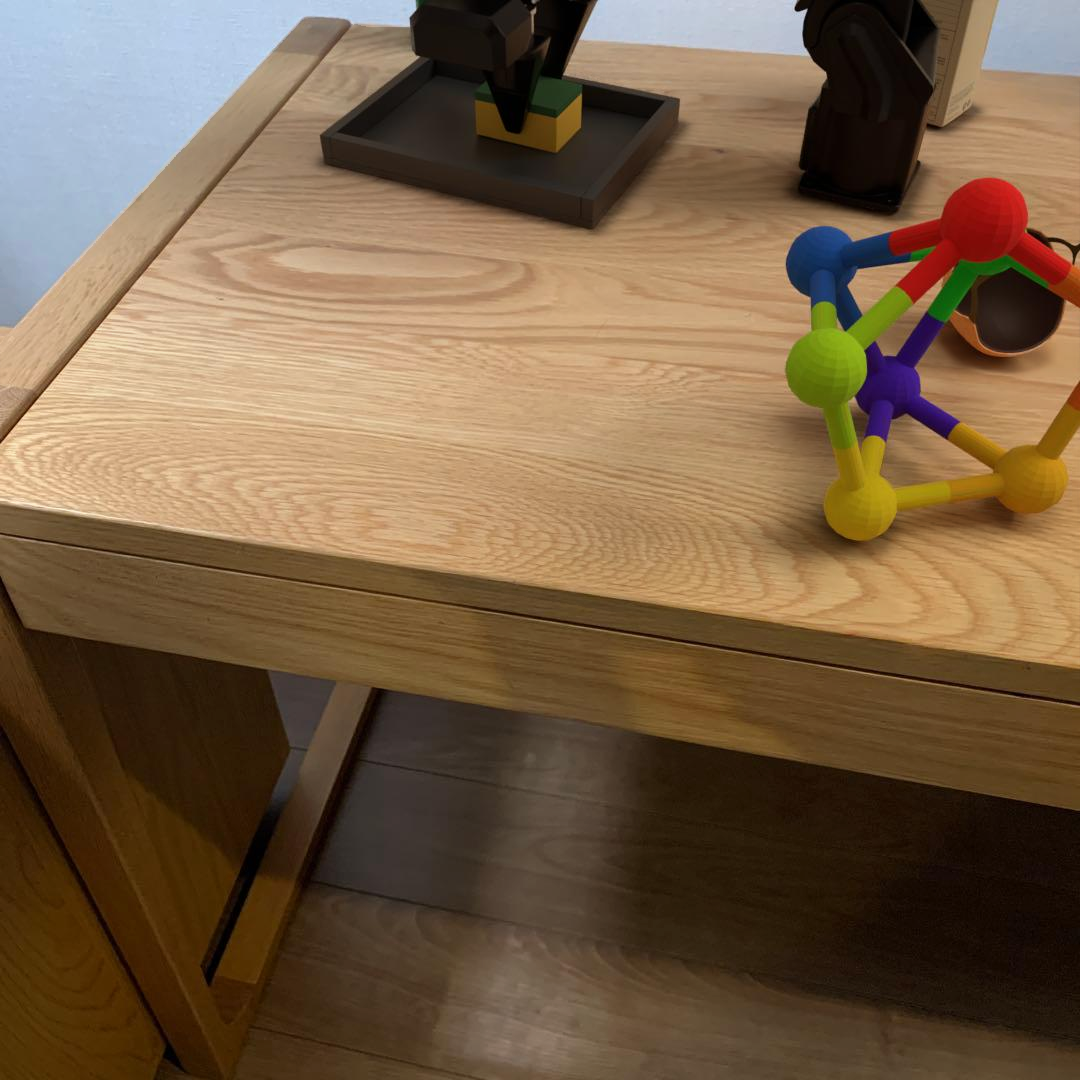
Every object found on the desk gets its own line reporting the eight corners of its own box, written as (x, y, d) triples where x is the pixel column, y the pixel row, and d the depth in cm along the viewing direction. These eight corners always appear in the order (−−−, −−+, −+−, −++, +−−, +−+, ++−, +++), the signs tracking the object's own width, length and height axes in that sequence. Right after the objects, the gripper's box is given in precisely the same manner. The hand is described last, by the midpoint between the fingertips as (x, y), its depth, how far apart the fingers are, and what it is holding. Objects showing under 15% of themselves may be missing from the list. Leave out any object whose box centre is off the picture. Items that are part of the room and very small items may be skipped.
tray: (678, 126, 74) (680, 97, 73) (592, 229, 65) (593, 199, 64) (432, 75, 80) (430, 48, 79) (324, 163, 71) (319, 134, 70)
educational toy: (931, 351, 57) (1045, 73, 46) (1091, 521, 49) (1275, 236, 38) (669, 408, 53) (722, 118, 42) (797, 604, 45) (906, 311, 34)
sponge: (503, 109, 75) (502, 66, 73) (581, 127, 73) (582, 84, 71) (476, 134, 72) (474, 90, 70) (556, 153, 71) (556, 109, 68)
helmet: (1129, 307, 50) (1059, 347, 58) (1078, 174, 50) (1015, 231, 58) (1008, 348, 50) (955, 382, 58) (959, 215, 50) (912, 267, 58)
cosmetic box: (972, 109, 75) (1027, -83, 66) (941, 131, 73) (994, -65, 64) (891, 82, 78) (934, -105, 69) (859, 103, 76) (899, -88, 67)
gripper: (476, -203, 69) (487, 44, 80) (312, -118, 57) (352, 155, 69) (636, -184, 65) (624, 71, 77) (495, -90, 54) (505, 193, 66)
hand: (528, 118), depth 72 cm, fingers closed on sponge, 4 cm apart
